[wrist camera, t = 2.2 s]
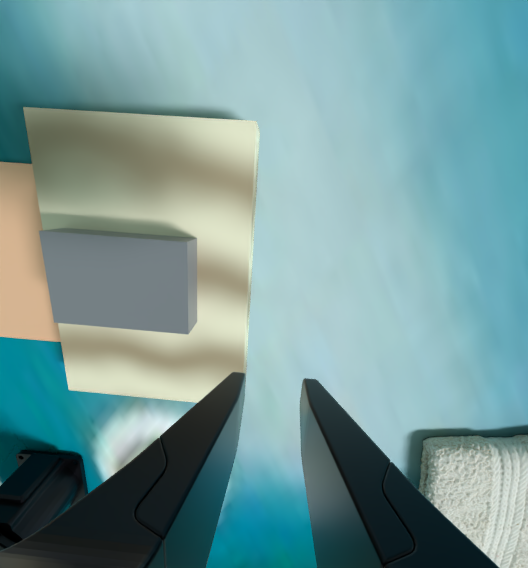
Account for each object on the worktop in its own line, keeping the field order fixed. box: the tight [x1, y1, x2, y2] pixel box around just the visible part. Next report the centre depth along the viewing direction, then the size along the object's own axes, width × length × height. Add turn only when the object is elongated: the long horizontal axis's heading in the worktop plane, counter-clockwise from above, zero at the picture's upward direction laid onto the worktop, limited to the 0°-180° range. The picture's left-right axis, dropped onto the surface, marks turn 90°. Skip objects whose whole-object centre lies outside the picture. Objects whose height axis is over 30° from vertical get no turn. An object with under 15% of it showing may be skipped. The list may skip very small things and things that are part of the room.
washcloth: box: [418, 435, 528, 568], centre depth 25 cm, size 12×18×3 cm, turn 6°
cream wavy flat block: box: [23, 107, 260, 403], centre depth 20 cm, size 20×14×2 cm
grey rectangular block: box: [39, 228, 197, 334], centre depth 18 cm, size 6×9×2 cm, turn 86°
